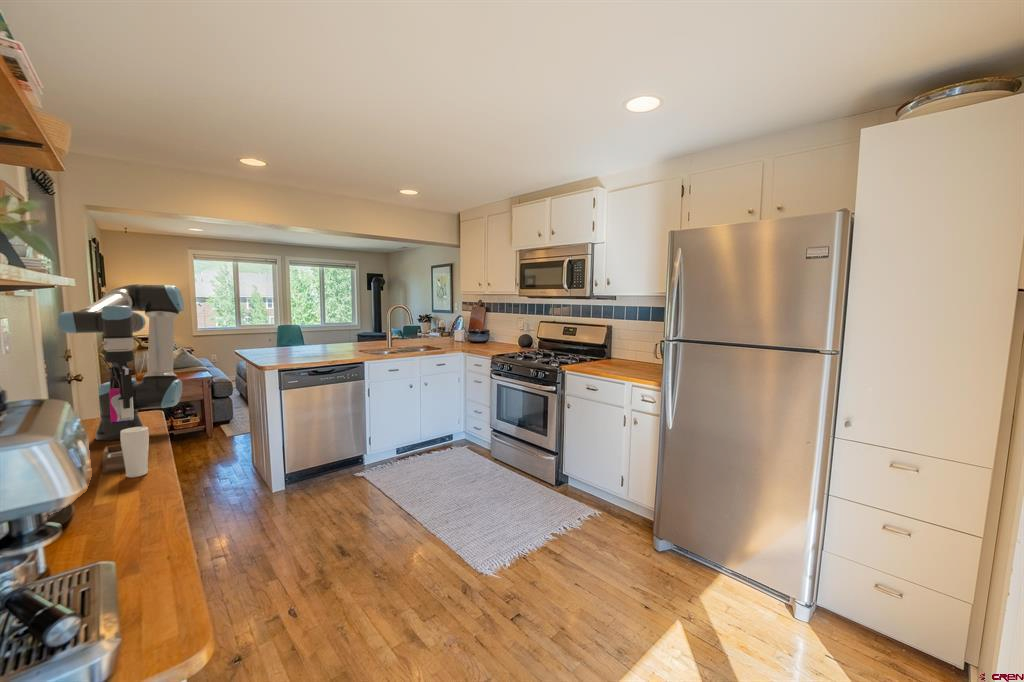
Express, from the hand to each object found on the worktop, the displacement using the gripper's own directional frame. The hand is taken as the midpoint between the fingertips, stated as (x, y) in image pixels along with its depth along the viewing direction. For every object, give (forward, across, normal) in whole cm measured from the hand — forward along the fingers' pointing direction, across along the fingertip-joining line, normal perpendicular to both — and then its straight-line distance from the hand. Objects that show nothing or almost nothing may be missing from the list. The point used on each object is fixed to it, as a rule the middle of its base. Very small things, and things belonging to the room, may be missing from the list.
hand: (122, 416), depth 149 cm
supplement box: (+2, 0, 0) cm, 2 cm away
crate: (+16, +3, 0) cm, 16 cm away
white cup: (+17, +19, -2) cm, 25 cm away
